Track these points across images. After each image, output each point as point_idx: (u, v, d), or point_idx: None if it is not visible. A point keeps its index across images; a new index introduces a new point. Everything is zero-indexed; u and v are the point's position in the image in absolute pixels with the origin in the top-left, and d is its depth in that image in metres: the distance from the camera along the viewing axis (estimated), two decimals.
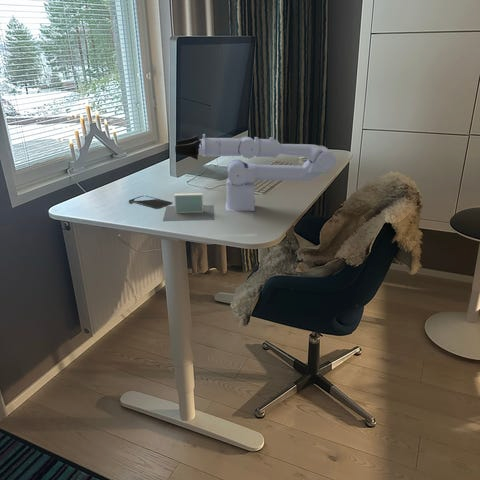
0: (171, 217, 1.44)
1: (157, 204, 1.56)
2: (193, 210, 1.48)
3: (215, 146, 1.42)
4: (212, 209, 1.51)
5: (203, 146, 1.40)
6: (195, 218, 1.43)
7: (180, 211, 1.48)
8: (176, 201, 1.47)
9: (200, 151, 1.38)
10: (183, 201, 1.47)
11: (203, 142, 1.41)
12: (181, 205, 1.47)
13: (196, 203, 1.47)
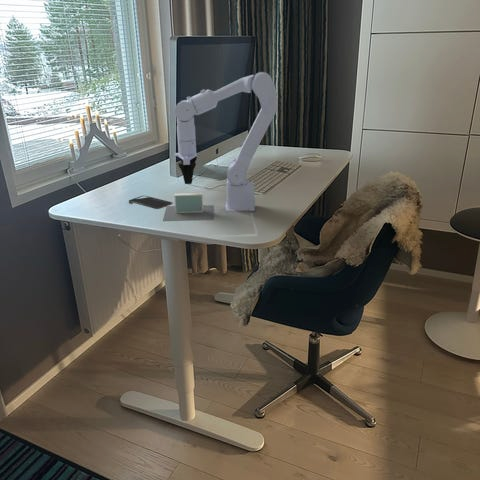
0: (171, 217, 1.44)
1: (157, 204, 1.56)
2: (193, 210, 1.48)
3: (184, 145, 1.43)
4: (212, 209, 1.51)
5: (182, 158, 1.42)
6: (195, 218, 1.43)
7: (180, 211, 1.48)
8: (176, 201, 1.47)
9: (185, 163, 1.41)
10: (183, 201, 1.47)
11: (180, 157, 1.44)
12: (181, 205, 1.47)
13: (196, 203, 1.47)
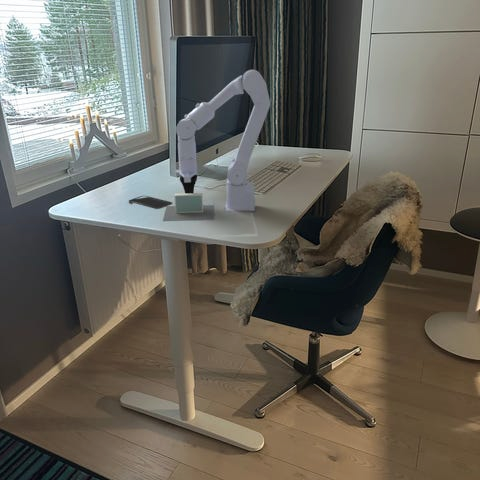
0: (171, 217, 1.44)
1: (157, 204, 1.56)
2: (193, 210, 1.48)
3: (184, 162, 1.45)
4: (212, 209, 1.51)
5: (183, 176, 1.44)
6: (195, 218, 1.43)
7: (180, 211, 1.48)
8: (176, 201, 1.47)
9: (186, 180, 1.43)
10: (183, 201, 1.47)
11: (181, 174, 1.46)
12: (181, 205, 1.47)
13: (196, 203, 1.47)
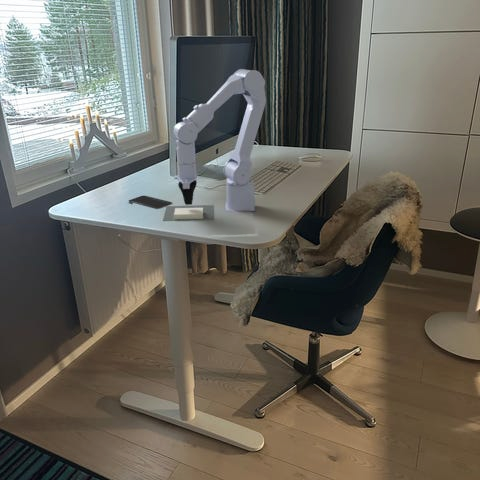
0: (171, 217, 1.44)
1: (157, 204, 1.56)
2: None
3: (183, 168, 1.39)
4: (212, 209, 1.51)
5: (182, 182, 1.38)
6: None
7: None
8: None
9: (185, 187, 1.36)
10: None
11: (180, 180, 1.40)
12: None
13: None
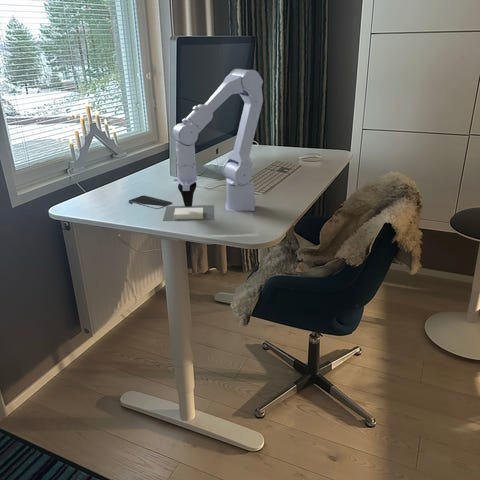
0: (171, 217, 1.44)
1: (157, 204, 1.56)
2: None
3: (183, 170, 1.37)
4: (212, 209, 1.51)
5: (181, 184, 1.36)
6: None
7: None
8: None
9: (185, 189, 1.34)
10: None
11: (179, 182, 1.38)
12: None
13: None
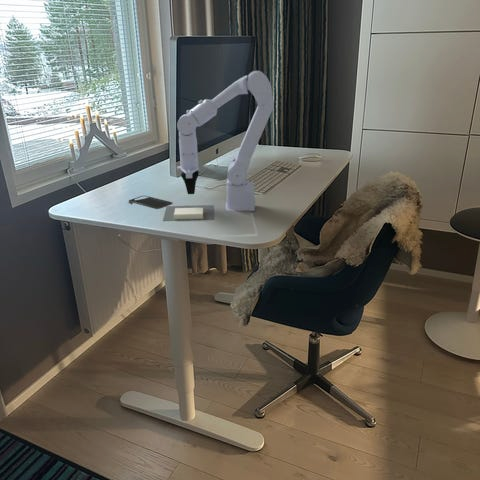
0: (171, 217, 1.44)
1: (157, 204, 1.56)
2: None
3: (186, 158, 1.44)
4: (212, 209, 1.51)
5: (184, 172, 1.43)
6: None
7: None
8: None
9: (188, 176, 1.42)
10: None
11: (182, 170, 1.45)
12: None
13: None
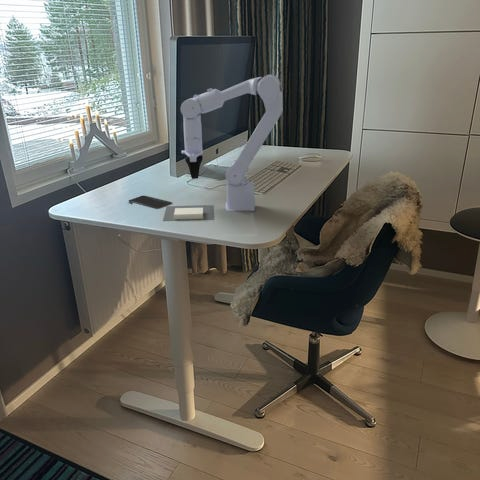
0: (171, 217, 1.44)
1: (157, 204, 1.56)
2: None
3: (190, 142, 1.44)
4: (212, 209, 1.51)
5: (189, 156, 1.43)
6: None
7: None
8: None
9: (192, 160, 1.42)
10: None
11: (186, 154, 1.45)
12: None
13: None
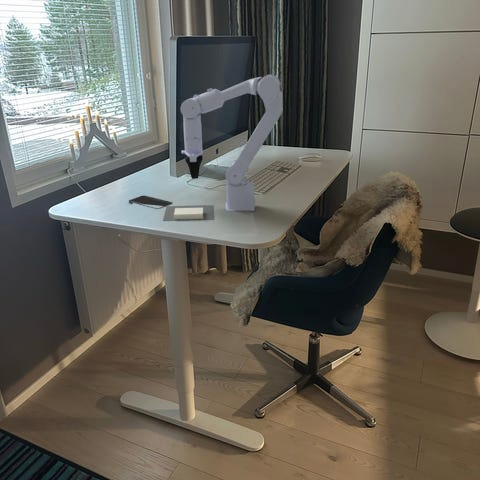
0: (171, 217, 1.44)
1: (157, 204, 1.56)
2: None
3: (190, 142, 1.44)
4: (212, 209, 1.51)
5: (189, 156, 1.43)
6: None
7: None
8: None
9: (192, 160, 1.42)
10: None
11: (186, 154, 1.45)
12: None
13: None
